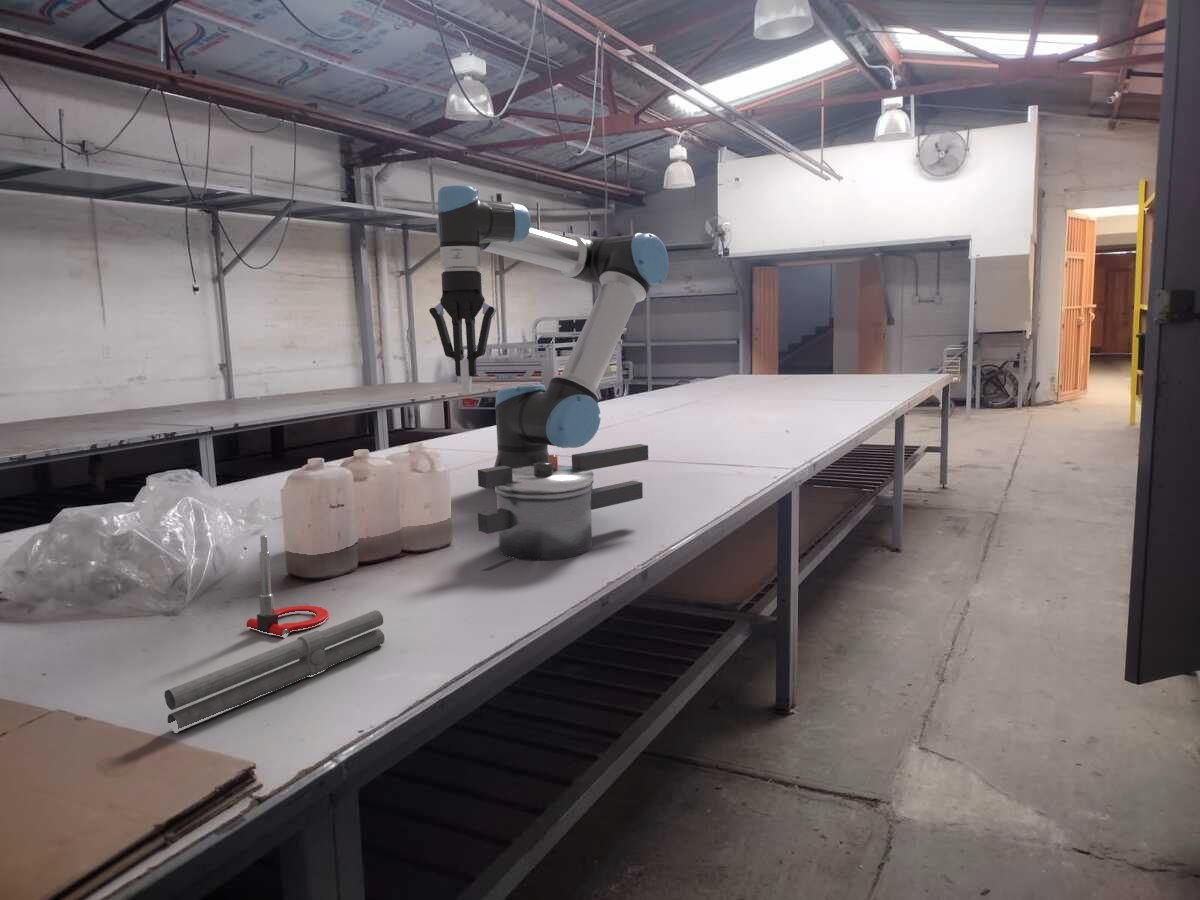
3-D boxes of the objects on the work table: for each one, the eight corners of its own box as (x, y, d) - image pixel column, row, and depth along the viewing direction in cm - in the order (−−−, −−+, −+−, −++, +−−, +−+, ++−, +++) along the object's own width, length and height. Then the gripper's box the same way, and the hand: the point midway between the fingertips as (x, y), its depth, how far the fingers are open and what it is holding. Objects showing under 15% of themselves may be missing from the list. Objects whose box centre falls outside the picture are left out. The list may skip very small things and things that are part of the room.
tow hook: (298, 609, 113) (241, 629, 105) (295, 519, 111) (236, 532, 103) (342, 620, 109) (285, 642, 101) (338, 526, 107) (280, 541, 99)
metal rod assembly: (181, 739, 78) (175, 691, 77) (166, 731, 80) (161, 684, 79) (390, 647, 99) (387, 608, 98) (375, 642, 100) (373, 604, 99)
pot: (507, 521, 156) (505, 465, 154) (643, 521, 154) (642, 464, 152) (477, 563, 130) (474, 497, 128) (640, 564, 128) (639, 496, 126)
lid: (511, 502, 123) (510, 477, 122) (456, 485, 136) (455, 462, 135) (675, 470, 145) (675, 449, 144) (614, 458, 158) (614, 438, 157)
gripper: (422, 270, 151) (429, 395, 155) (490, 268, 151) (496, 394, 155) (433, 272, 159) (439, 391, 163) (498, 270, 158) (503, 390, 162)
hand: (467, 392), depth 159 cm, fingers closed
